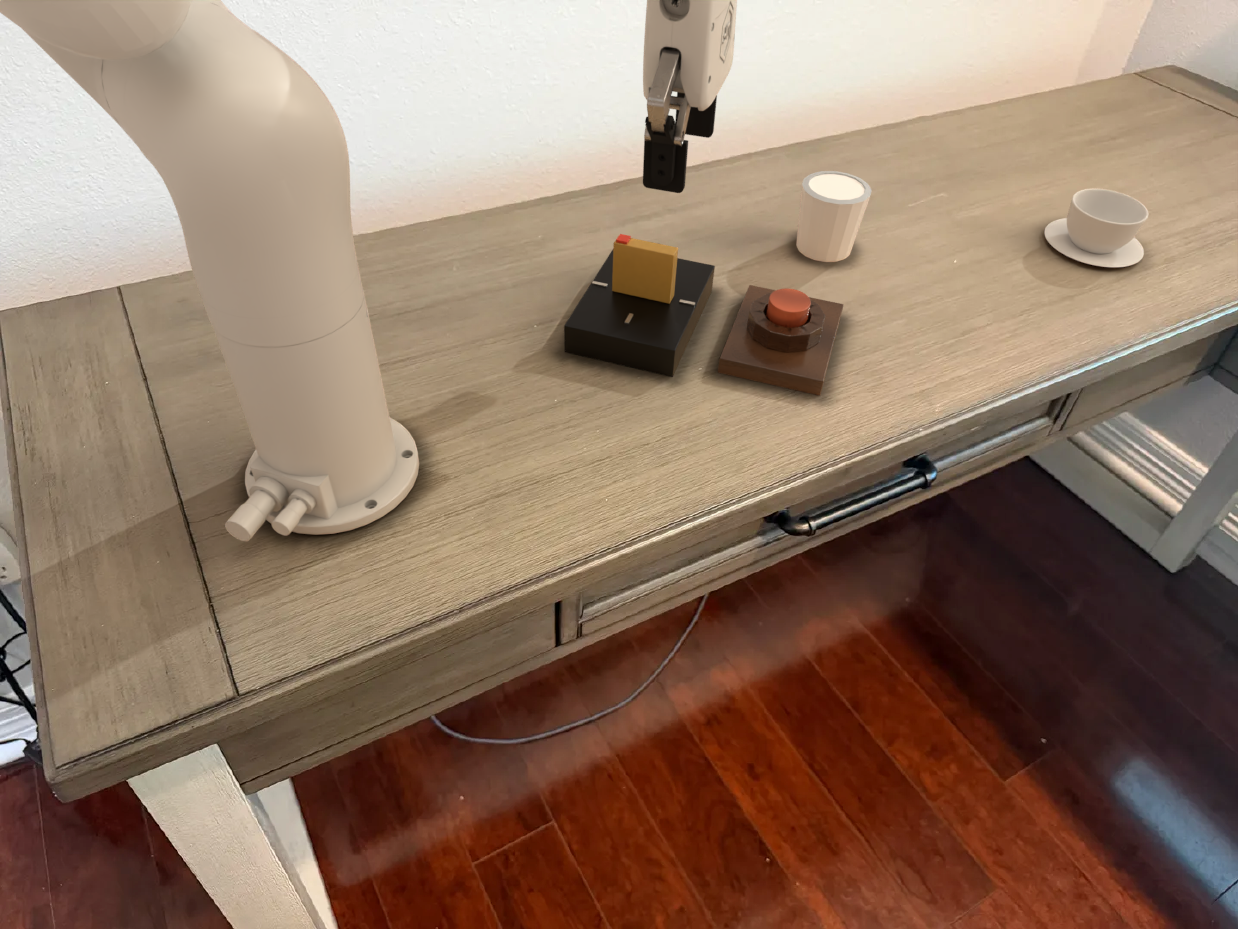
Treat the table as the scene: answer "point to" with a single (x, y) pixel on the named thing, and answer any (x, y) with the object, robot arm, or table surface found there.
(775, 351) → the button block
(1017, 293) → the table surface
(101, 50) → the robot arm
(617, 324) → the plate
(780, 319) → the button
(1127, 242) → the teacup
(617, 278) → the yellow flat block
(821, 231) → the beige cup
